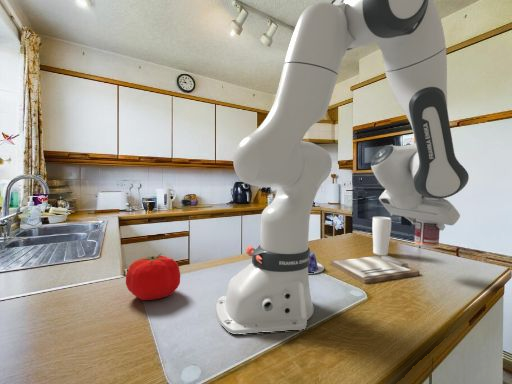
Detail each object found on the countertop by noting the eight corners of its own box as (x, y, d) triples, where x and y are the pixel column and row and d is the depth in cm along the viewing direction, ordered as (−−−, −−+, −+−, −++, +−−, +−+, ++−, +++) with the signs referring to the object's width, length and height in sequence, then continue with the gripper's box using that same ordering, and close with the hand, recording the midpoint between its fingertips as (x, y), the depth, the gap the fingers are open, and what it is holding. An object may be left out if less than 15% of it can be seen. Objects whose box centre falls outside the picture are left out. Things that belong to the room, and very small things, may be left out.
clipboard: (364, 283, 68) (364, 275, 68) (330, 264, 83) (330, 257, 83) (419, 274, 75) (419, 267, 75) (378, 258, 90) (378, 252, 90)
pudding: (291, 275, 74) (291, 259, 73) (285, 262, 86) (285, 247, 85) (328, 275, 74) (329, 259, 74) (317, 262, 86) (318, 248, 86)
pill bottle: (441, 246, 72) (444, 211, 72) (433, 249, 69) (436, 212, 68) (419, 241, 78) (421, 208, 77) (410, 244, 74) (412, 209, 73)
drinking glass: (390, 253, 96) (392, 217, 96) (389, 258, 91) (391, 219, 90) (372, 250, 100) (373, 215, 99) (370, 254, 94) (371, 217, 94)
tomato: (176, 305, 55) (176, 262, 54) (118, 309, 53) (117, 265, 52) (183, 284, 66) (183, 248, 65) (135, 287, 64) (134, 250, 63)
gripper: (452, 189, 60) (473, 225, 64) (385, 185, 79) (404, 213, 83) (438, 207, 59) (461, 242, 63) (374, 198, 78) (394, 226, 82)
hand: (428, 225), depth 73 cm, fingers closed on pill bottle, 6 cm apart
